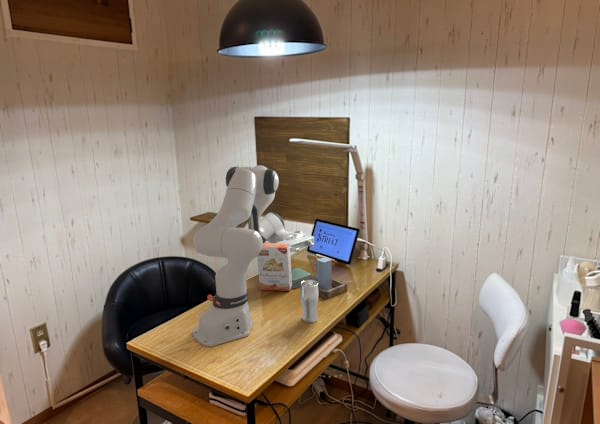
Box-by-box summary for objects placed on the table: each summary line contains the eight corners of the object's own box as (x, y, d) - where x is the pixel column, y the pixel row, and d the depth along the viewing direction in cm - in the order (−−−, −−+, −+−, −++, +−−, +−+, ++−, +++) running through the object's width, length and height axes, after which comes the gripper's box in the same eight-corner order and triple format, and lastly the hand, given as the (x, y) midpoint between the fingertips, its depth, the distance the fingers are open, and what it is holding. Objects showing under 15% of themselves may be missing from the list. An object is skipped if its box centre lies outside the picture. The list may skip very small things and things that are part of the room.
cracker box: (259, 290, 186) (255, 247, 180) (263, 284, 191) (259, 242, 186) (290, 291, 183) (287, 247, 177) (292, 285, 189) (289, 242, 183)
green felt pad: (293, 281, 194) (293, 280, 194) (280, 274, 202) (280, 273, 202) (311, 275, 201) (311, 274, 200) (297, 268, 209) (297, 267, 209)
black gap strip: (293, 289, 186) (293, 288, 186) (286, 286, 190) (286, 285, 189) (319, 279, 195) (319, 278, 195) (312, 276, 199) (312, 275, 199)
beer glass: (307, 325, 155) (306, 288, 152) (297, 317, 161) (296, 282, 157) (322, 319, 159) (322, 283, 155) (312, 312, 165) (311, 277, 161)
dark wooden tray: (326, 299, 176) (326, 292, 175) (304, 287, 187) (303, 281, 186) (347, 290, 183) (347, 284, 182) (324, 280, 195) (324, 274, 194)
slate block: (324, 292, 182) (323, 262, 179) (317, 288, 186) (316, 259, 182) (331, 289, 185) (331, 259, 182) (325, 285, 189) (324, 257, 185)
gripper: (269, 239, 195) (287, 247, 184) (303, 230, 207) (321, 236, 197) (270, 252, 197) (288, 260, 186) (303, 242, 209) (321, 249, 198)
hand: (305, 248), depth 192 cm, fingers open, 8 cm apart
